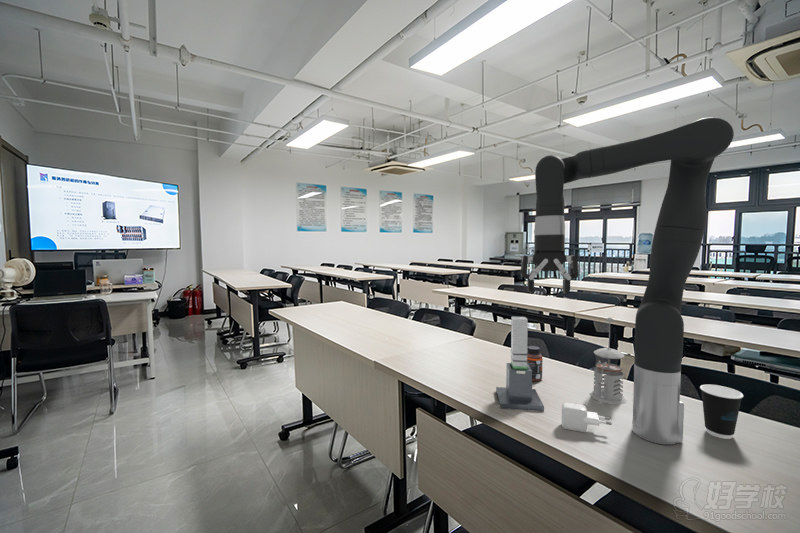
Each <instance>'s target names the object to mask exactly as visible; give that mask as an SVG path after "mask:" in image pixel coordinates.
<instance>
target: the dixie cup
mask: <svg viewBox="0 0 800 533" xmlns="http://www.w3.org/2000/svg"><path fill="white" fill-rule="evenodd" d="M699 389H700V390H701V400H702V407H703V408H702V410H703V420H704V427H705V430H706V433H708V434H709V435H710V436H713V437H716V438H719V439H724V440H730V439H732V438H733V435H735V433H736V432H735V431H736V426H737V421H738V418H739V417H738V416H739V413H740V408H741V402H742V399H743V398H744V394H743V393H742V392H741V391H739V390H737V389H734V388H732V387H727V386H722V385H718V384H701V385H700V386H699Z"/></svg>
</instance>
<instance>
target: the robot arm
mask: <svg viewBox="0 0 800 533" xmlns="http://www.w3.org/2000/svg"><path fill="white" fill-rule="evenodd" d="M734 133H735V132H734V128H733V126H732V124H731V123H729V122H728V121H727V120H725V119H723V118H721V117H715V116H714V117H713V116H711V117H703V118H700V119H697V120H695V121H693V122H690V123H686V124H684V125H681V126H679V127H674V128H673V129H670V130H666V131H663V132H659V133H656V134H653V135H649V136H646V137H642V138H638V139H633V140H627V141H624V142H618V143H614V144H609V145H605V146H603V145H602V146H599V147H594V148H589V149H585V150H582V151H579V152H578V153H576V154H575V155H571V156H568V157H564V158H560V157H559V156H558V155H554V154H553V155H552V154H549V155H546V156H544V157H542V158H540V160H539V161H538V162H537V164H536V166H535V172H534V174H535V175H534V178H535V191H536V192H535V193H536V200H535V201H536V202H535V219H534V220H535V221H534V228H533V229H534V230H533V234H534V239H533V241H534V245H533V246H534V248H533V255H532V256H531V255H525V254H523V255H522V256H521V263H520V277H522V278H525V279H526V280H527V285H526V286H527V287H526V288H527V292H529V294H532V295H535V280H534V279H535V277H536V276H537V275H539V273H540V272H541V271H542V272H558V273H559V274H560V275H561V276H562V278H563V279H562V294H563V295H568V293H570V291H571V281H572V280H573V279H577V278H579V258H578V255H574V254H571V255H566V253H565V250H566V248H565V242H566V241H565V240H566V223H565V198H564V185H566V184H569V183H572V182H576V181H579V180H583V179H590V178H596V177H597V178H598V177H602V176H607V175H611V174H616V173H619V172H624V171H627V170H630V169H634V168H638V167H641V166H644V165H645V166H646V165H649V164H654V163H659V162H666V161H670V164H669V175H668V182H667V186H666V187H667V188H666V191H665V193H664V196H663V200H662V203H661V205H660V209H659V214H658V217H657V220H656V224H655V228H654V232H653V238H652V243H651V249H650V258H649V272H648V273H649V275H648V279H647V280H648V282H647V284H646V286H645V291H644V293H643V296H642V299H641V302H640V305H639V306H638V309H637V311H636V313H635V323H634V353H633V354H634V366H633V394H632V395H633V399H632V402H633V403H632V422H631V424H632V426H631V427H632V428H631V430H632V431H633V433H634V434H635V435H636V436H638V437H640V438H641V439H643V440H646V441H648V442H651V443H655V444H659V445H668V446H669V445H675V444H678V443H683V442H684V440H683V439H684V418H685V417H684V416H685V404H684V402H682V401H681V400H680V399H681V380H682V379H681V377H682V376H681V374H682V373H681V372H682V361H683V355H684V354H683V353H684V352H683V351H684V335H685V332H684V331H685V328H684V327H685V324H684V323H685V322H684V318H683V316H682V304H683V296H684V295H683V294H684V290H685V286H686V282H687V279H688V278H689V275H690V274H691V272H692V270H693V268H694V265H695V263H696V261H697V259H698V256H699V253H700V250H701V246H702V244H703V240H704V239H703V238H704V235H705V230H706V226H707V203H706V199H707V198H706V186H707V182H708V178H709V177H710V176H709V175H710V172H711V170H712V166H713V163H714V161H715V159H716V158H717V157H719V156H720V155H721V154H723V153H724V152H726V150H727V149H728V148H729V147H730V146H731V144H732V142H733V140H734V135H735V134H734ZM531 261H532V262H533V263H534V264H535V266H534V267H533V268H532V269H531V271H530V272H529V273H528V265H529V264H530V263H531ZM566 261H567V263H568V264H570V269H569V270H570V273H569V272H568V271H567V269H566V268H565V267H564V266H563V264H564V263H566Z"/></svg>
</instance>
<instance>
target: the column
mask: <svg viewBox="0 0 800 533" xmlns="http://www.w3.org/2000/svg"><path fill="white" fill-rule="evenodd" d="M528 324H529V323H528V318H527V317H526V316H511V329H510V330H511V332H510V335H511V337H510V338H511V340H510V342H511V343H510V346H511V347H510V351H511V352H510V353H511V354H510V363H511V369H516V370H527V352H528V326H529V325H528Z"/></svg>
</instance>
